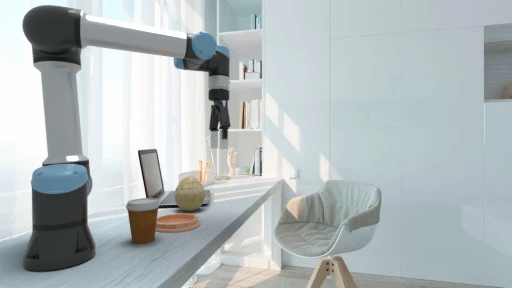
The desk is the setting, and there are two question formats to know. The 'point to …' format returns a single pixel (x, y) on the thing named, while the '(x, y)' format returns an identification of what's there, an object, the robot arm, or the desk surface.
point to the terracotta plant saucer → (177, 223)
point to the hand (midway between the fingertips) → (218, 148)
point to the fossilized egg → (189, 194)
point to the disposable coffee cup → (143, 219)
